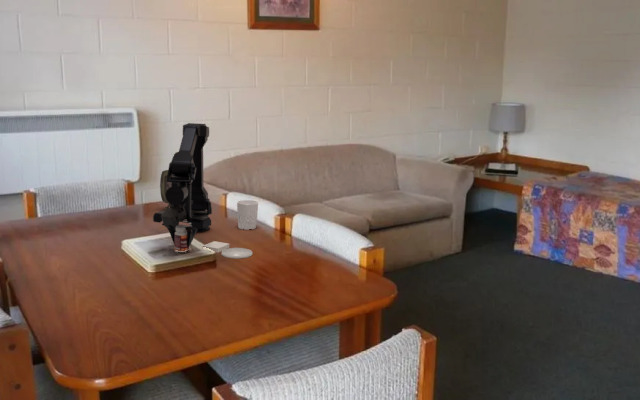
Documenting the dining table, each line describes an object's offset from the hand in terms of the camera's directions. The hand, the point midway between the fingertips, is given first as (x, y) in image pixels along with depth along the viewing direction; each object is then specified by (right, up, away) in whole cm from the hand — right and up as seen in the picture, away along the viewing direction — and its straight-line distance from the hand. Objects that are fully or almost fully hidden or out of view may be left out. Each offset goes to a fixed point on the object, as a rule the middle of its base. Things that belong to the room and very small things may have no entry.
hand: (181, 245), depth 197 cm
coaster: (+18, -3, 0) cm, 18 cm away
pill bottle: (0, -2, 0) cm, 2 cm away
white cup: (+17, +4, +34) cm, 38 cm away
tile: (+12, 0, +8) cm, 14 cm away
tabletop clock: (-13, +10, +55) cm, 58 cm away
